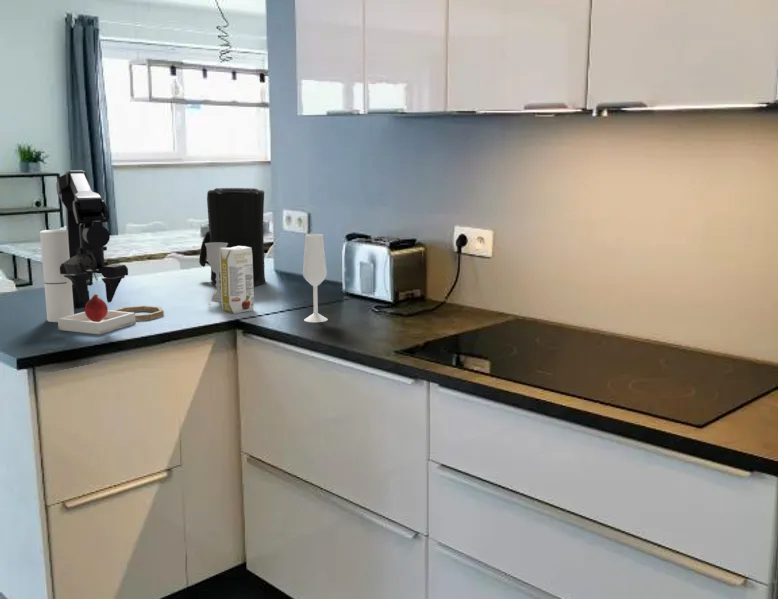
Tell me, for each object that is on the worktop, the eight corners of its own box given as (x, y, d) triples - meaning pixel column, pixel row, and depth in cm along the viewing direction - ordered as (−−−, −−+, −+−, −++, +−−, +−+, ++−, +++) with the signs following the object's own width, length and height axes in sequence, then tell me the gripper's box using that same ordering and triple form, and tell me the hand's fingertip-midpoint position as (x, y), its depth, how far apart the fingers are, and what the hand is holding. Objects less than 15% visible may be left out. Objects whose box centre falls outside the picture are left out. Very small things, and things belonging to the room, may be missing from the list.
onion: (101, 325, 213) (98, 296, 212) (81, 325, 215) (78, 295, 213) (112, 321, 219) (110, 292, 218) (93, 321, 220) (91, 292, 219)
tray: (58, 329, 213) (57, 318, 212) (95, 319, 226) (95, 308, 225) (99, 334, 208) (98, 323, 207) (135, 323, 221) (135, 312, 220)
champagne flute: (331, 320, 223) (330, 235, 219) (308, 323, 220) (307, 236, 216) (322, 316, 229) (321, 233, 225) (300, 318, 226) (298, 234, 222)
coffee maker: (254, 274, 304) (251, 185, 297) (290, 286, 277) (288, 189, 270) (196, 279, 292) (192, 186, 285) (228, 293, 265) (224, 191, 258)
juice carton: (257, 310, 237) (255, 247, 234) (233, 314, 231) (230, 249, 228) (242, 307, 242) (240, 244, 239) (218, 311, 236) (215, 247, 233)
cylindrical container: (79, 317, 228) (73, 230, 223) (62, 322, 221) (54, 233, 217) (59, 315, 230) (52, 229, 225) (41, 321, 224) (33, 232, 219)
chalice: (202, 301, 252) (200, 244, 248) (215, 297, 258) (212, 241, 254) (222, 302, 249) (220, 245, 245) (234, 298, 255) (232, 242, 252)
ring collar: (101, 318, 226) (100, 313, 226) (134, 309, 239) (134, 304, 239) (141, 322, 221) (140, 317, 221) (172, 313, 234) (172, 308, 233)
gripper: (41, 245, 209) (46, 304, 212) (97, 248, 202) (102, 309, 205) (73, 240, 219) (77, 296, 222) (127, 243, 212) (131, 301, 215)
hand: (95, 301), depth 215 cm, fingers open, 9 cm apart
